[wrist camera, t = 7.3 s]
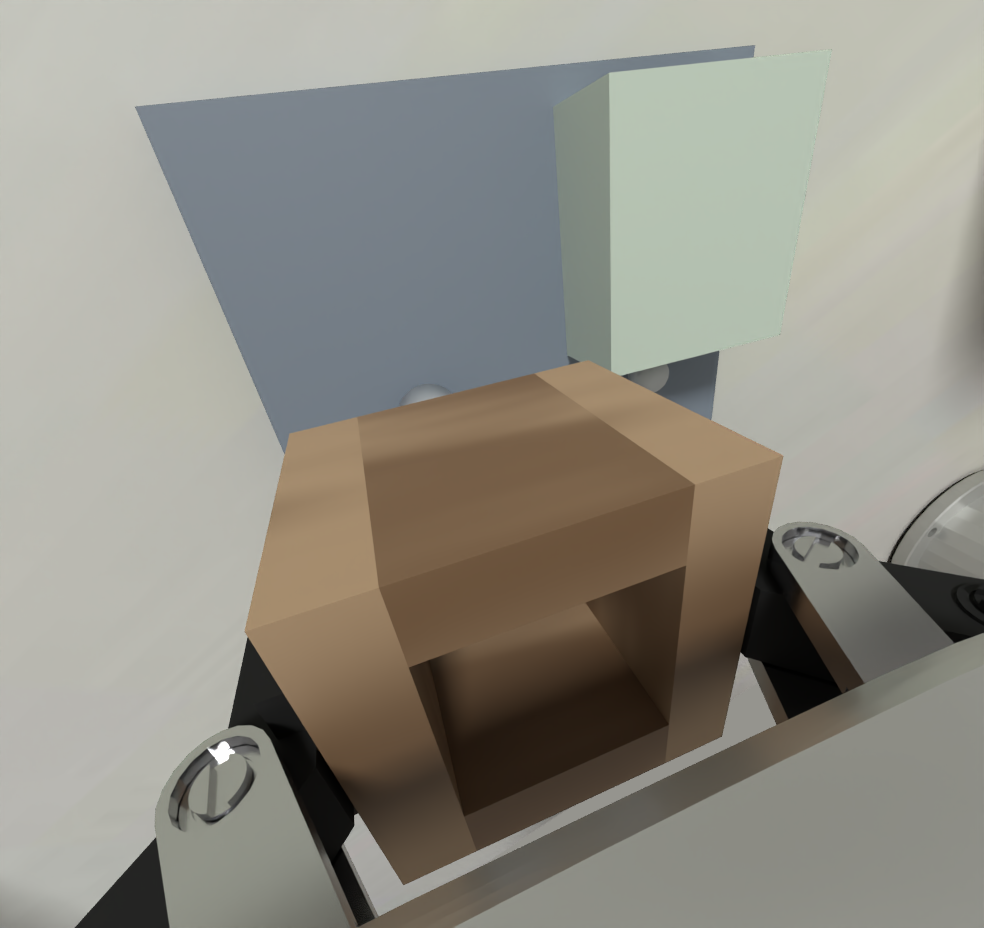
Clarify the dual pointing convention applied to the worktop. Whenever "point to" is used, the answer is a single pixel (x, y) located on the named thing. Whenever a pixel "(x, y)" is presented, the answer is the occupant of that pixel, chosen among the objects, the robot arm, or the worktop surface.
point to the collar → (509, 599)
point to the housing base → (391, 235)
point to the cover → (683, 205)
